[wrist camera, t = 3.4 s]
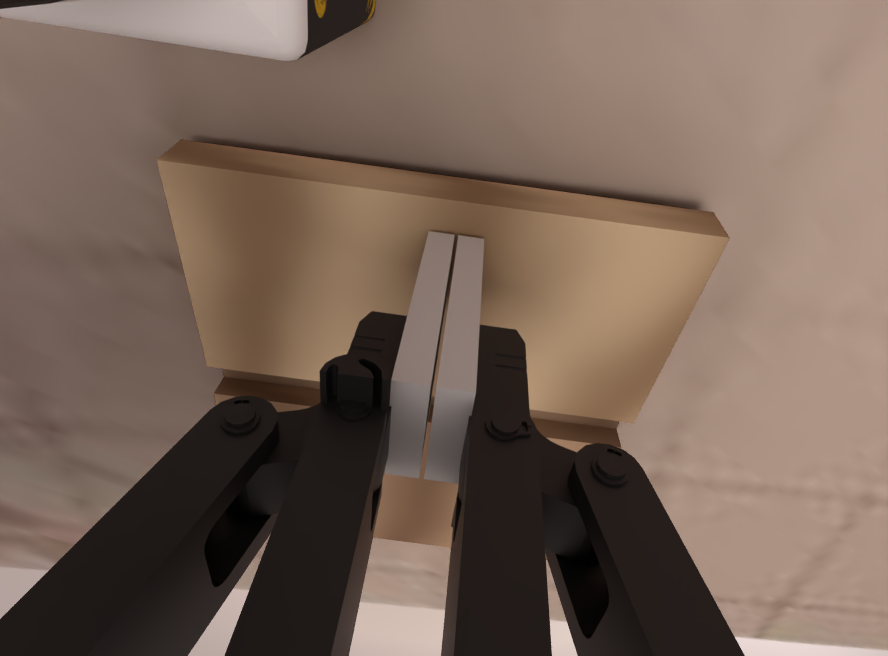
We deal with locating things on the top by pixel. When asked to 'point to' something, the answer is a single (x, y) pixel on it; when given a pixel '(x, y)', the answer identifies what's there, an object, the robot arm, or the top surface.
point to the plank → (399, 257)
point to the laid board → (417, 499)
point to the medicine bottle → (207, 21)
